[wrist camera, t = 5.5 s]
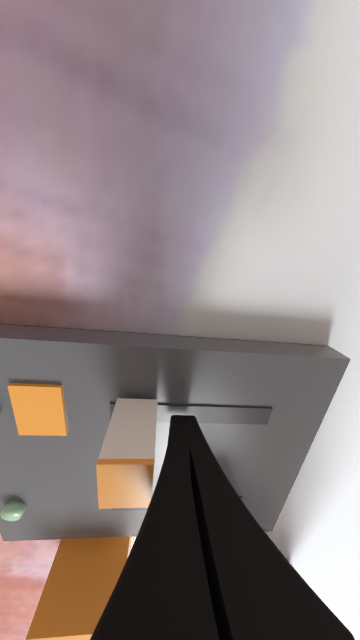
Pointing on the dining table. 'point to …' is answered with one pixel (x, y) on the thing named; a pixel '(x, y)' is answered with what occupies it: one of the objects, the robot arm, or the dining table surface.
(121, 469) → the block
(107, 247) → the dining table surface
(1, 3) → the dining table surface
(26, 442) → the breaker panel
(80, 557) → the cap
